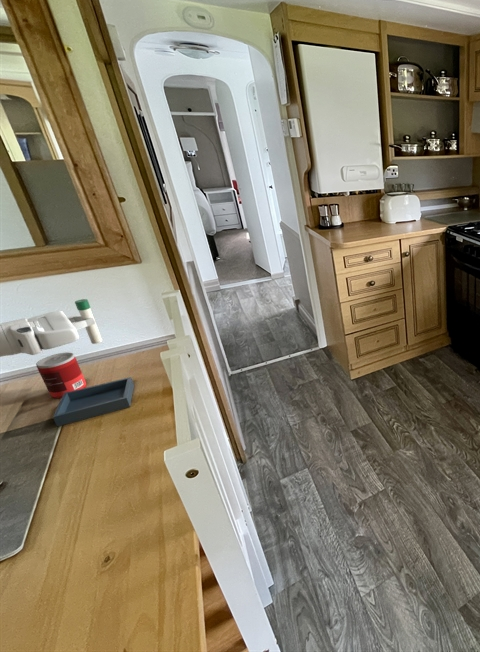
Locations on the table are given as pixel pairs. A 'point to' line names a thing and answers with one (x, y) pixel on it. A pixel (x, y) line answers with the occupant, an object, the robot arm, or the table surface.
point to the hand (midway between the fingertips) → (92, 318)
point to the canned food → (61, 374)
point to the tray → (94, 401)
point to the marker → (87, 313)
